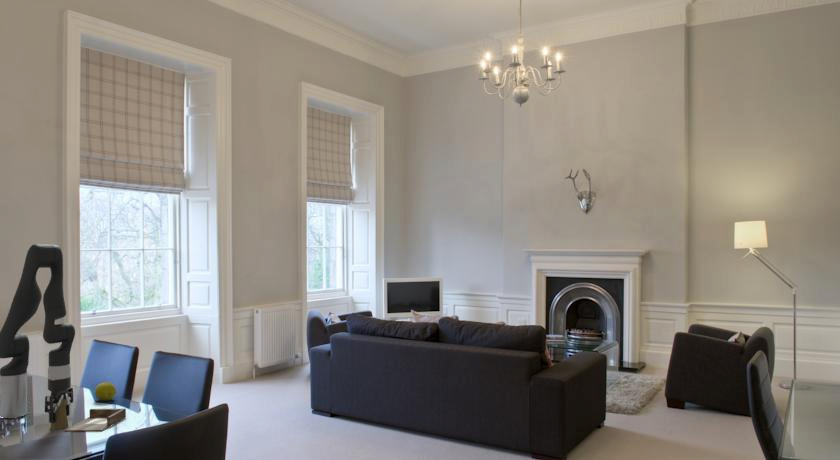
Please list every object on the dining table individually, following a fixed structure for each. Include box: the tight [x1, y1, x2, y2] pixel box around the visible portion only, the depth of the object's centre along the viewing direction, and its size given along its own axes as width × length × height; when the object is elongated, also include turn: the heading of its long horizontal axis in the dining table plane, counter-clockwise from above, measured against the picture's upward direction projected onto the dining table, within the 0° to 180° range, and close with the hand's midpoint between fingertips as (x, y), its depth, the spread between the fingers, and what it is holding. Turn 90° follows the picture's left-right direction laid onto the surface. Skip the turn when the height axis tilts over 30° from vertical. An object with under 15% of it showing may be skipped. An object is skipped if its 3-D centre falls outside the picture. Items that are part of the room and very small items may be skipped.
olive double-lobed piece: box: [49, 398, 69, 431], centre depth 235 cm, size 6×6×11 cm
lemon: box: [94, 381, 117, 402], centre depth 274 cm, size 11×8×8 cm
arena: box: [64, 408, 127, 433], centre depth 238 cm, size 14×18×4 cm
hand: (59, 419), depth 235 cm, fingers open, 8 cm apart
